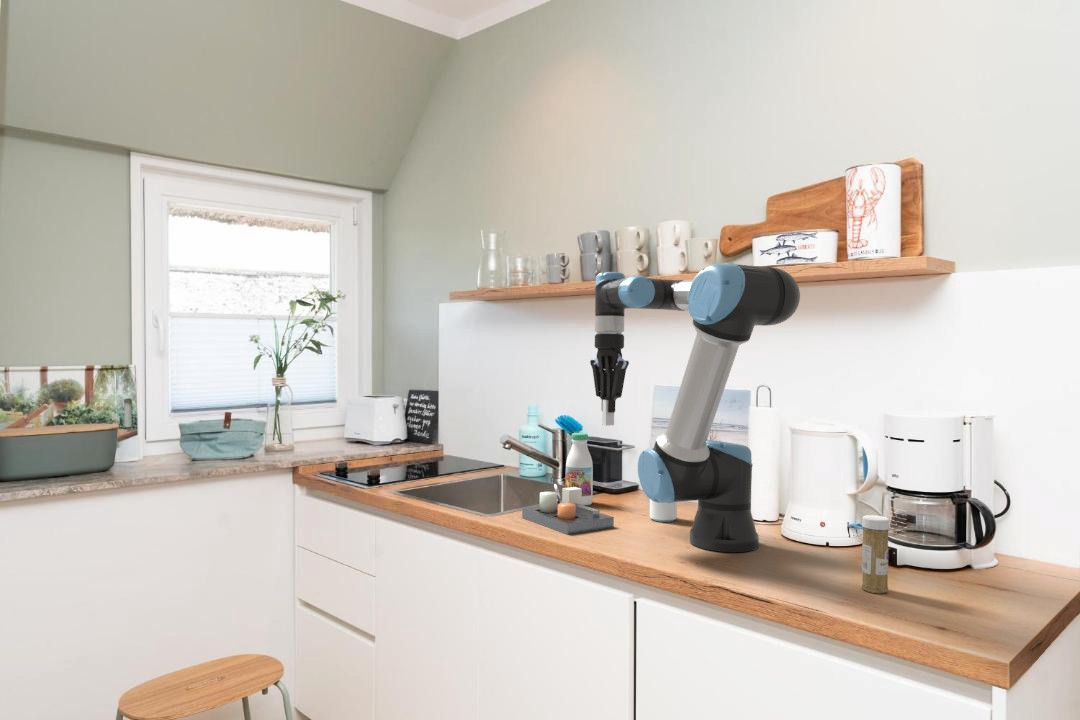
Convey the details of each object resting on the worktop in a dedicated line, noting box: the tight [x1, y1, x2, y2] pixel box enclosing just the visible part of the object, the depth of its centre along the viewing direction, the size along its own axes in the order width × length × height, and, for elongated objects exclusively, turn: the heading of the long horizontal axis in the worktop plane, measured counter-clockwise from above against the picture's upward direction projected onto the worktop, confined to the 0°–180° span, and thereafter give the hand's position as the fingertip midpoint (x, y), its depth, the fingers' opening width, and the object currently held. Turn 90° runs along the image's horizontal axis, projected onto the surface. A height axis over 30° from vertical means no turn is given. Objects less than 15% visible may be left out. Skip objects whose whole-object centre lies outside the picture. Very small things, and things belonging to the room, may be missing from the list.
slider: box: [561, 487, 582, 503], centre depth 187 cm, size 3×4×4 cm
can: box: [648, 499, 678, 523], centre depth 188 cm, size 7×7×12 cm
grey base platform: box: [521, 483, 615, 535], centre depth 183 cm, size 21×14×8 cm
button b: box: [539, 491, 557, 513], centre depth 185 cm, size 4×4×4 cm
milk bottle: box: [564, 432, 594, 506], centre depth 206 cm, size 8×8×20 cm
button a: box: [558, 503, 576, 520], centre depth 178 cm, size 4×4×4 cm
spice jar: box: [861, 514, 891, 594], centre depth 133 cm, size 5×5×13 cm
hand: (608, 425), depth 186 cm, fingers closed
